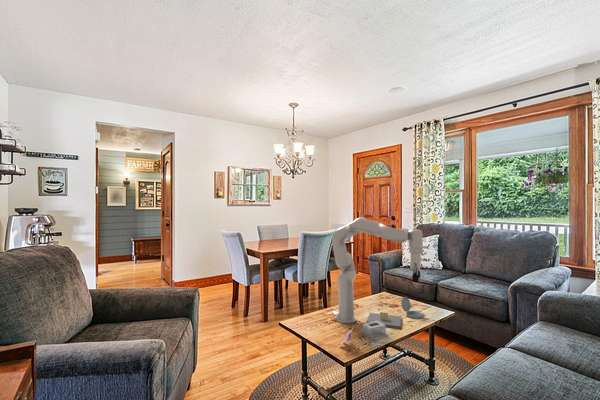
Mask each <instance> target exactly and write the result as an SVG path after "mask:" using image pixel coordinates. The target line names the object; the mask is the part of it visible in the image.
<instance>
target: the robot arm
mask: <svg viewBox="0 0 600 400" xmlns="http://www.w3.org/2000/svg"><path fill="white" fill-rule="evenodd" d="M360 233H364V234H368V235H372V236H376V237H379V238H382V239H386V240H388V241H392V242H396V243H400V244H401V243H406V241H408V253H409V254H410V263H409V264H410V266H409V267H410V271H412V275H411V276H412V282H413V283H418V282H419V279H420V278H421V264H422V259H421V258H422V256H421V255H422V254H423V253H424V252H423V251H424V249H423V248H424V247H423V246H424V244H423V231H422V230H421V229H417V228H415V229H413V228H411V229H408V228H396V227H391V226H387V225H385V224H383V223H382V222H380V221H379V222H378V221H376V220H375V221H374V220H370V219H368V218H366V217H361V216H360V217H358V218H355V219H354V221H352V222H350V223H348V224H346V225H343V226H341V227H339V228H337V229H335V231H333V232H332V236H331V244H332V251H333V256H334V261H335V264H336V267H337V268H338V269H341V271H340V272H339V273H338V275H337V288H338V290H337V291H338V311H333V310H332V315H333V317H334V316H335V317H336V320H337V322H339V323H341V324H353V323H355V322H356V321H357V317H356V316H355V310H354V309H355V307H354V305H355V304H354V303H355V302H354V301H355V300H354V299H355V298H354V285H353V284H354V283H353V282H354V281H355V279H356V277H357V272H356V271H357V270H356V266H355V262H354V258H353V256H352V254H351V253H350V252H349V251H348V249H347V245H346V243H345V242H346V240H348V239H350V238H352V237H354V236H356V235H358V234H360Z"/></svg>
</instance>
